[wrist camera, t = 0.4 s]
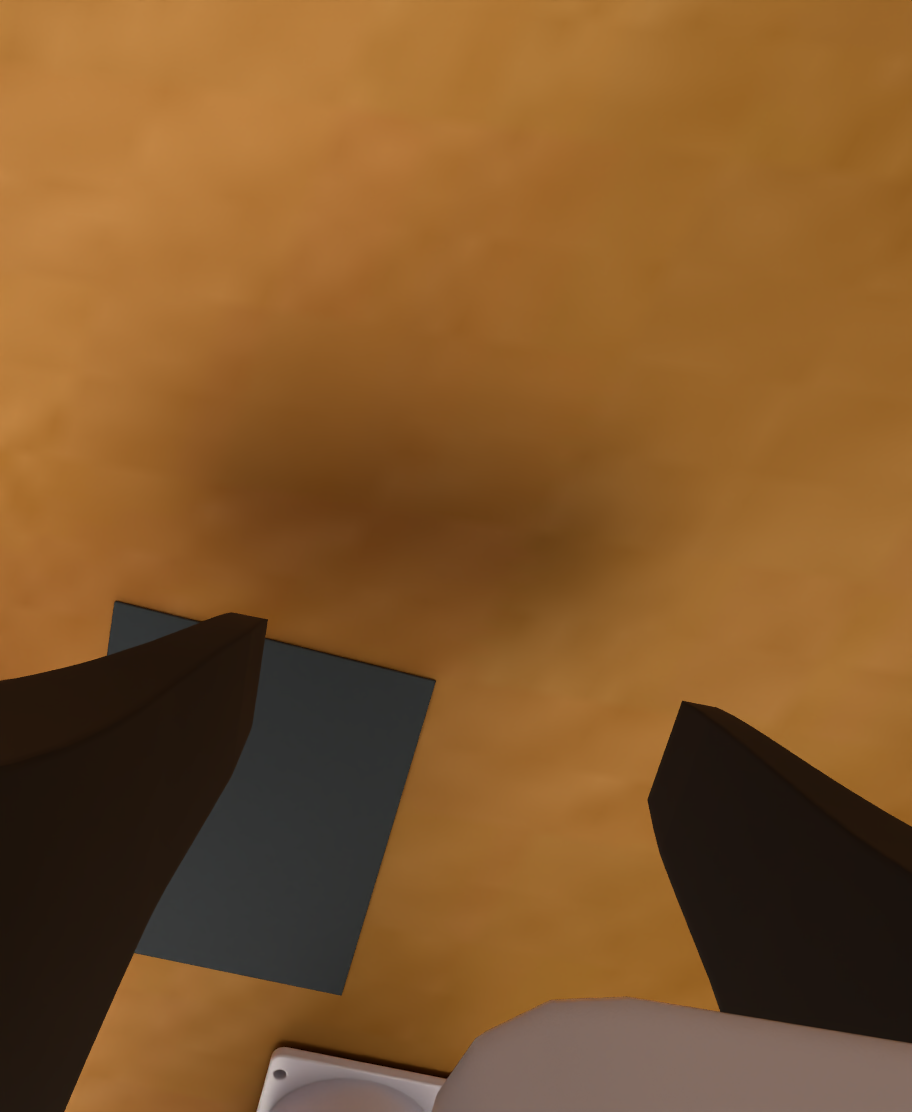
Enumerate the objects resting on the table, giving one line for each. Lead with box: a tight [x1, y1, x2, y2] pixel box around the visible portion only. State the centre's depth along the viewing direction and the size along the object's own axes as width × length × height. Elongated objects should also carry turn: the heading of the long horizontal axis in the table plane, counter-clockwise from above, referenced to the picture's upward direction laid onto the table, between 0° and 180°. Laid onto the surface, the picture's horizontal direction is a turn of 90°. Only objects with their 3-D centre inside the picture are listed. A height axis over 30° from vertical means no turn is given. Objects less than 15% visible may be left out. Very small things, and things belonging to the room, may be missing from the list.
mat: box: [107, 601, 436, 995], centre depth 24 cm, size 14×10×1 cm
